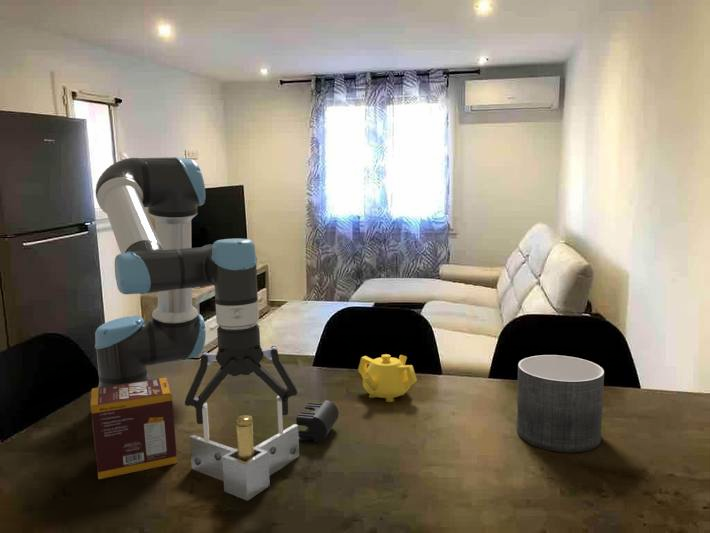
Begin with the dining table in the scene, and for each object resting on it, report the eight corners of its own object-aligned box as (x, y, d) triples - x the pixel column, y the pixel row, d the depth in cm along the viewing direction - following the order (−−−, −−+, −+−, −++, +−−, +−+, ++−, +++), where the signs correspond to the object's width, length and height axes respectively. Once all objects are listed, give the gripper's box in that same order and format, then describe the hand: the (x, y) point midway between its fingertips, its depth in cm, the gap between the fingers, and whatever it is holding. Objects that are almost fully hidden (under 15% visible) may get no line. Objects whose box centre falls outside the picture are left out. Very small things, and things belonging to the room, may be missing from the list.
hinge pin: (238, 493, 105) (236, 422, 103) (238, 485, 108) (236, 415, 106) (255, 491, 105) (252, 421, 103) (254, 483, 108) (252, 414, 106)
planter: (613, 432, 126) (616, 365, 124) (582, 462, 114) (585, 388, 111) (537, 412, 139) (539, 350, 136) (502, 436, 126) (503, 369, 123)
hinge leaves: (181, 474, 112) (179, 441, 111) (246, 439, 127) (244, 409, 126) (247, 500, 103) (245, 464, 101) (308, 459, 117) (307, 427, 116)
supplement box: (97, 457, 120) (91, 387, 118) (172, 442, 126) (167, 376, 124) (96, 480, 111) (89, 405, 109) (177, 463, 117) (172, 391, 115)
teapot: (379, 378, 165) (378, 341, 163) (433, 390, 154) (433, 351, 153) (337, 400, 149) (336, 359, 147) (395, 415, 138) (394, 371, 137)
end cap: (327, 447, 123) (326, 418, 122) (296, 444, 124) (295, 415, 123) (339, 428, 132) (338, 400, 131) (310, 425, 134) (309, 398, 133)
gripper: (163, 335, 96) (172, 452, 99) (309, 324, 101) (313, 436, 104) (168, 324, 103) (177, 433, 106) (304, 315, 108) (308, 420, 111)
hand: (244, 435), depth 105 cm, fingers open, 13 cm apart
